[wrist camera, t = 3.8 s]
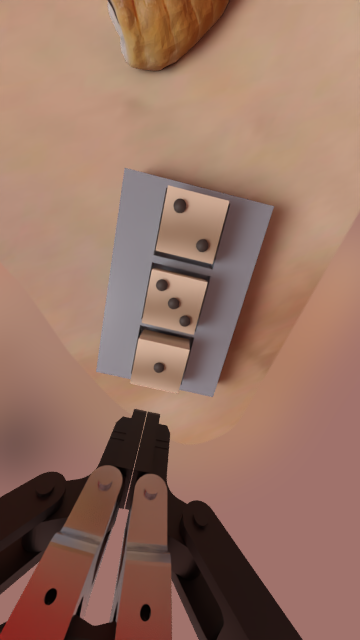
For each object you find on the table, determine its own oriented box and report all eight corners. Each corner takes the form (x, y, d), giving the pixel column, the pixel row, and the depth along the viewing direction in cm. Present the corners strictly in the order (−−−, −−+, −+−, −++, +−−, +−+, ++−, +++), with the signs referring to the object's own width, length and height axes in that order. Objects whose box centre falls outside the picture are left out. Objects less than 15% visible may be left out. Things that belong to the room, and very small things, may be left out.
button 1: (144, 329, 20) (138, 339, 18) (189, 339, 21) (189, 351, 18) (136, 369, 22) (129, 384, 19) (178, 378, 22) (177, 395, 19)
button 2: (170, 195, 17) (167, 184, 15) (223, 208, 17) (230, 200, 15) (159, 251, 18) (155, 250, 16) (209, 263, 19) (212, 264, 16)
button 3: (156, 267, 19) (151, 269, 16) (204, 279, 19) (208, 282, 16) (146, 315, 20) (141, 323, 17) (192, 325, 20) (193, 335, 18)
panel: (132, 179, 19) (124, 167, 17) (262, 212, 19) (274, 206, 17) (105, 360, 24) (96, 371, 21) (210, 383, 24) (212, 396, 22)
